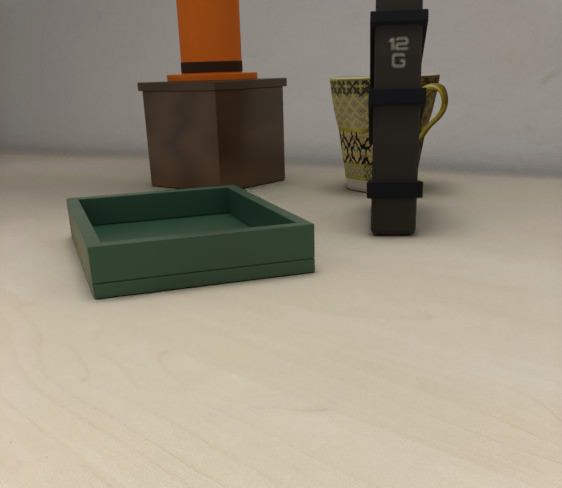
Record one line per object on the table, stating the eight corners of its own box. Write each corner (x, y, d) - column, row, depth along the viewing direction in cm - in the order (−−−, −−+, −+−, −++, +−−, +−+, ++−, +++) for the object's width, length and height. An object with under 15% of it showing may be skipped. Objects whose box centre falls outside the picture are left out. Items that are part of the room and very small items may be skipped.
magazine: (365, 220, 46) (370, -7, 46) (366, 260, 59) (370, 83, 59) (424, 220, 45) (429, -10, 46) (412, 260, 58) (415, 81, 59)
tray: (71, 236, 52) (65, 198, 50) (236, 220, 55) (234, 184, 54) (94, 299, 37) (87, 246, 36) (315, 271, 41) (314, 223, 40)
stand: (147, 185, 74) (136, 82, 70) (217, 173, 81) (211, 79, 77) (221, 193, 67) (214, 81, 63) (289, 179, 75) (286, 77, 71)
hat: (148, 82, 70) (137, -29, 66) (211, 79, 76) (204, -22, 72) (214, 80, 64) (206, -40, 61) (275, 78, 71) (272, -32, 67)
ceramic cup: (309, 186, 70) (308, 77, 66) (386, 176, 75) (389, 74, 71) (398, 204, 60) (403, 76, 56) (479, 190, 65) (489, 72, 61)
